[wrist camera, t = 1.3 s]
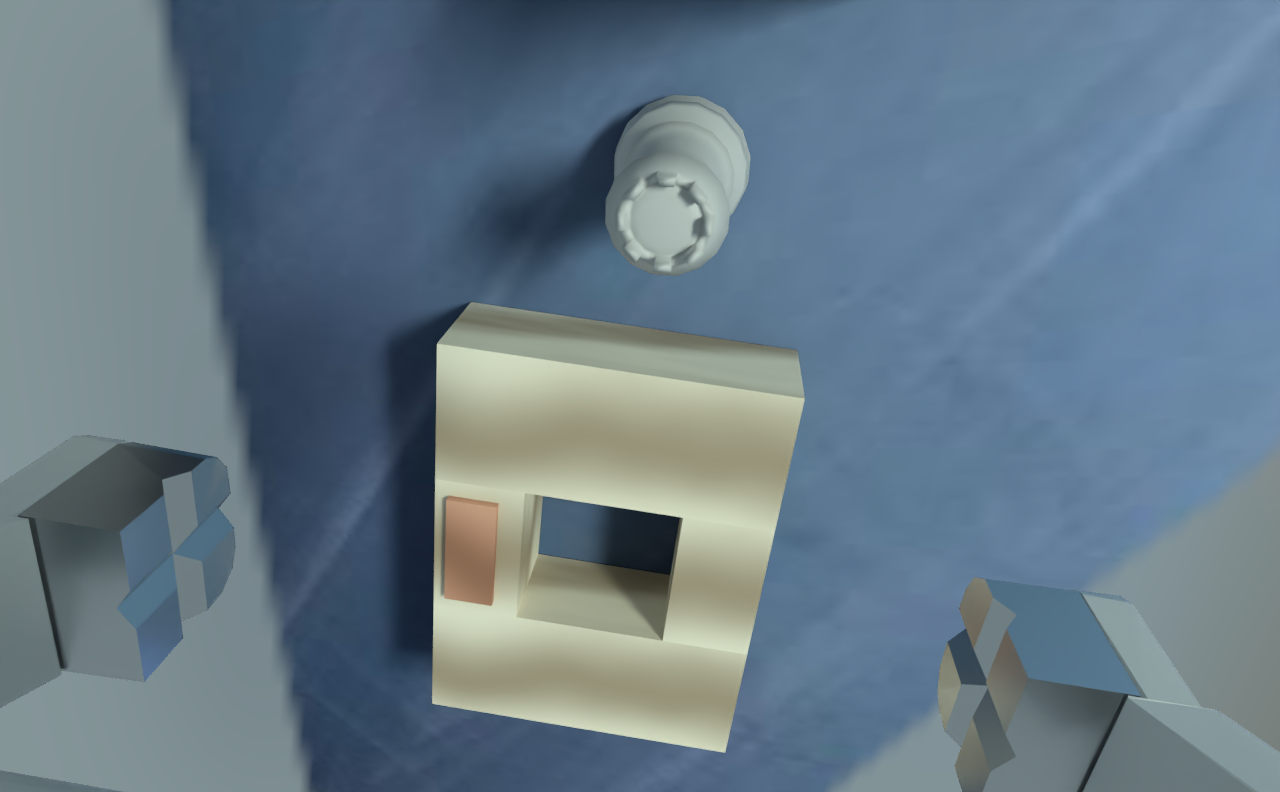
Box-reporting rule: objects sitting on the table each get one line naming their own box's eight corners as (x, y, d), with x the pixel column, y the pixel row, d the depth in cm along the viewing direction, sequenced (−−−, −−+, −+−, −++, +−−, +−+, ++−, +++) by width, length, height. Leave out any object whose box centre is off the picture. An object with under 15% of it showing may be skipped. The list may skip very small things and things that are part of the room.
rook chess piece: (603, 210, 30) (559, 284, 23) (633, 76, 28) (596, 111, 21) (728, 243, 30) (725, 328, 23) (767, 112, 28) (777, 160, 21)
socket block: (470, 302, 32) (434, 346, 28) (797, 350, 31) (805, 402, 27) (460, 636, 39) (429, 709, 35) (726, 680, 38) (724, 758, 35)
